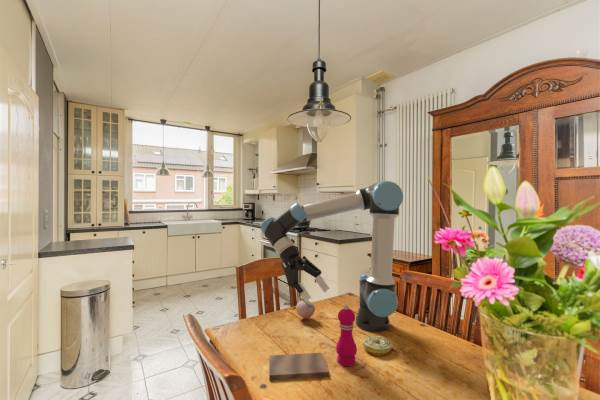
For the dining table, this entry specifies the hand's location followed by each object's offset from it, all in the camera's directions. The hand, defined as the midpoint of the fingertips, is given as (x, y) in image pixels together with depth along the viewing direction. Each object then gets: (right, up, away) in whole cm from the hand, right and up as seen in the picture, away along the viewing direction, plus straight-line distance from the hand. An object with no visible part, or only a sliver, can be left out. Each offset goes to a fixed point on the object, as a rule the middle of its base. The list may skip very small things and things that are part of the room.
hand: (318, 294), depth 110 cm
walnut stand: (-8, -21, -11) cm, 25 cm away
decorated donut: (+23, -22, +2) cm, 31 cm away
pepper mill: (+10, -22, -7) cm, 24 cm away
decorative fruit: (-4, -22, +30) cm, 37 cm away
